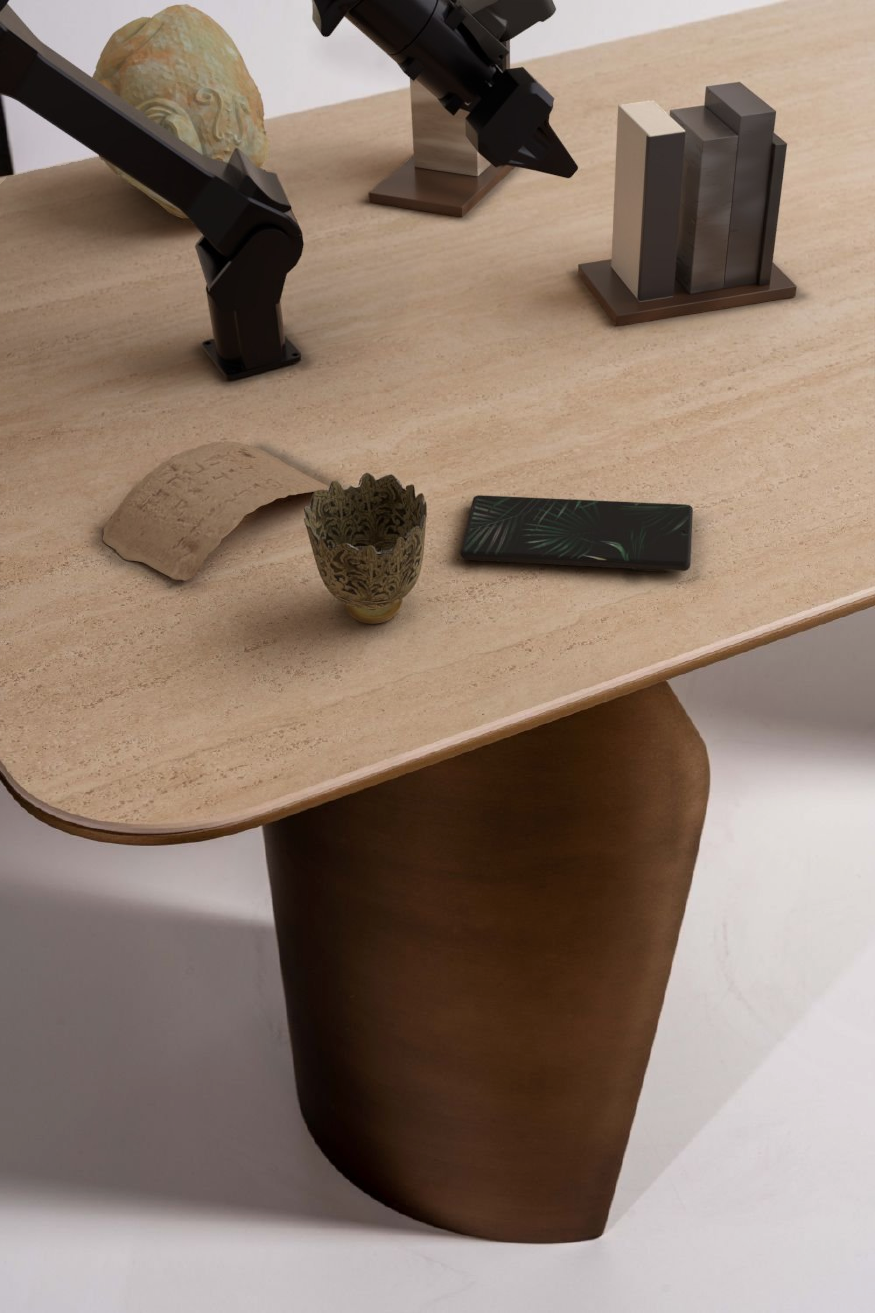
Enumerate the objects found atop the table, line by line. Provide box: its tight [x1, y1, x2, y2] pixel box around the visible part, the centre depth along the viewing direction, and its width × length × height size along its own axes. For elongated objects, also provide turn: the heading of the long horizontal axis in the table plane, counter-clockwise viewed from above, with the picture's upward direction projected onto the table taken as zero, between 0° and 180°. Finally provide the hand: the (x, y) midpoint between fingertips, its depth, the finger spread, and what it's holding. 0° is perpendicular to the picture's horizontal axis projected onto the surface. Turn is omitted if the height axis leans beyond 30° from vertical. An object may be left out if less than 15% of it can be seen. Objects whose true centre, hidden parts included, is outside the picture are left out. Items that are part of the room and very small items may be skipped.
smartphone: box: [459, 494, 694, 573], centre depth 95 cm, size 7×1×15 cm
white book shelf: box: [368, 39, 515, 218], centre depth 137 cm, size 16×10×15 cm, turn 154°
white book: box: [610, 99, 686, 302], centre depth 116 cm, size 3×7×14 cm, turn 15°
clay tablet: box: [102, 440, 330, 581], centre depth 98 cm, size 14×10×3 cm
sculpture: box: [91, 3, 270, 220], centre depth 136 cm, size 18×20×20 cm
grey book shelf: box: [577, 81, 798, 327], centre depth 117 cm, size 16×10×16 cm, turn 105°
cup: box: [303, 472, 428, 625], centre depth 88 cm, size 8×7×8 cm
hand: (554, 150), depth 111 cm, fingers open, 9 cm apart
